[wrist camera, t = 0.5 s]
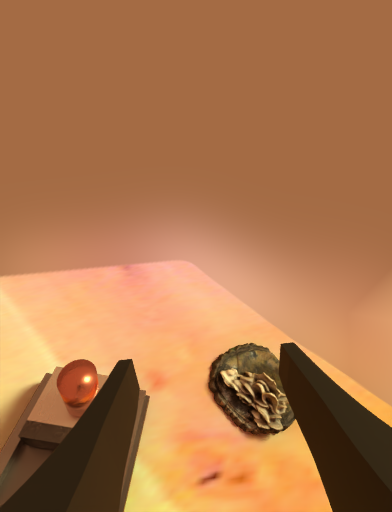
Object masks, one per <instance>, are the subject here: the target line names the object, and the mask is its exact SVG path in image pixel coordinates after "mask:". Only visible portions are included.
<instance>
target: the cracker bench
mask: <svg viewBox="0 0 392 512" xmlns="http://www.w3.org/2000/svg"><path fill="white" fill-rule="evenodd" d="M51 376H52V374H49V373H46V374H45V376H44V378H43V380H42V381H41V383H40V385H39V386H38V388H37V390H36V392H35V393H34V395H33V397H32V399H31V400H30V402H29V404H28V406H27V407H26V409H25V411H24V412H23V414H22V416H21V418H20V419H19V421H18V423H17V425H16V426H15V428H14V430H13V432H12V433H11V435H10V437H9V438H8V440H7V442H6V444H5V445H4V447H3V449H2V451H1V452H0V507H1V506H2V505H3V504H4V503H5V502H6V501H7V500H8V499H9V498H10V497H11V496H12V495H13V494H14V493H15V492H16V491H17V490H18V489H19V488H20V487H21V486H22V485H23V484H24V483H25V482H26V481H27V480H28V479H29V478H30V477H31V475H32V474H33V473H34V472H35V471H36V470H37V469H38V468H39V467H40V466H41V465H42V463H43V462H44V461H45V460H46V459H47V458H48V457H49V456H50V455H51V453H52V452H53V451H54V450H51V449H45V448H39V447H33V446H28V445H26V444H25V443H24V442H23V441H22V440H21V439H20V438H19V437H18V435H19V433H20V431H21V430H22V428H23V426H24V424H25V422H26V421H27V419H28V417H29V415H30V413H31V412H32V410H33V408H34V406H35V404H36V403H37V401H38V399H39V397H40V395H41V394H42V392H43V390H44V388H45V386H46V385H47V383H48V381H49V379H50V377H51ZM149 398H150V396H147V395H146V391H143V390H139V401H138V409H137V415H136V420H135V425H134V430H133V434H132V439H131V444H130V448H129V453H128V458H127V462H126V467H125V472H124V478H123V484H122V491H121V499H120V506H119V512H124V509H125V504H126V500H127V496H128V491H129V487H130V482H131V478H132V474H133V469H134V465H135V460H136V456H137V452H138V447H139V443H140V438H141V434H142V430H143V425H144V421H145V416H146V412H147V408H148V403H149Z"/></svg>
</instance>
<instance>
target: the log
mask: <svg viewBox="0 0 392 512" xmlns="http://www.w3.org/2000/svg"><path fill="white" fill-rule="evenodd" d="M209 388H210V390H211V391H212V392H213V393H214V399H215V401H216V402H217V404H218V405H220V406H221V407H222V408H223V410H224V412H225V413H226V414H227V415H229V416H230V417H231V418H232V420H233V421H234V423H235V424H236V425H237V426H239V427H240V428H242V429H243V430H244V431H245V432H251V433H252V434H259V433H263V434H266V433H271V432H273V433H279V432H280V430H282V431H284V430H286V429H287V428H288V427H289V426H290V425H291V424H292V423H293V421H294V420H295V419H296V418H295V416H294V413H293V411H292V409H291V407H290V404H289V402H288V400H287V398H286V395H285V392H284V389H283V386H282V383H281V380H280V377H279V360H278V359H277V358H276V357H275V356H274V355H273V354H272V353H271V352H270V351H269V349H268V348H264V347H263V346H257V345H256V344H254V343H250V344H248V343H247V344H244V345H238V346H236V347H234V348H231V349H229V350H228V351H227V352H225V353H224V354H221V355H219V358H218V359H216V360H215V361H214V362H213V363H212V371H211V372H210V382H209Z"/></svg>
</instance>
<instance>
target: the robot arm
mask: <svg viewBox="0 0 392 512" xmlns="http://www.w3.org/2000/svg"><path fill="white" fill-rule="evenodd" d="M279 377H280V380H281V383H282V386H283V389H284V392H285V395H286V398H287V400H288V402H289V404H290V407H291V409H292V411H293V413H294V416H295V418H296V420H297V422H298V424H299V427H300V429H301V431H302V433H303V435H304V438H305V440H306V442H307V444H308V446H309V449H310V451H311V453H312V456H313V458H314V461H315V463H316V466H317V469H318V471H319V474H320V477H321V480H322V482H323V485H324V488H325V491H326V494H327V497H328V499H329V502H330V505H331V508H332V511H333V512H392V427H390V426H389V425H387V424H386V423H385V422H383V421H382V420H380V419H379V418H378V417H377V416H375V415H374V414H373V413H371V412H370V411H369V410H367V409H366V408H365V407H364V406H362V405H361V404H360V403H359V402H357V401H356V400H355V399H354V398H352V397H351V396H350V395H349V394H348V393H347V392H345V391H344V390H343V389H342V388H341V387H340V386H338V385H337V384H336V383H335V382H334V381H333V380H332V379H331V378H330V377H329V376H327V375H326V374H325V373H324V372H323V371H322V370H321V369H320V368H319V367H318V366H317V365H316V364H315V363H314V362H313V361H312V360H311V359H310V358H309V357H308V356H307V355H306V354H305V353H304V352H303V351H302V350H301V349H300V348H299V347H298V346H297V345H296V344H295V343H284V344H281V348H280V361H279ZM139 390H140V388H139V384H138V380H137V376H136V373H135V369H134V365H133V361H132V359H127V360H119V361H118V362H117V364H116V365H115V367H114V369H113V370H112V372H111V373H110V375H109V377H108V378H107V380H106V381H105V383H104V384H103V386H102V387H101V389H100V390H99V392H98V393H97V395H96V396H95V398H94V399H93V401H92V402H91V404H90V405H89V406H88V408H87V409H86V411H85V412H84V413H83V415H82V416H81V417H80V419H79V420H78V421H77V423H76V424H75V425H74V427H73V428H72V429H71V430H70V432H69V433H68V434H67V435H66V437H65V438H64V439H63V440H62V442H61V443H60V444H59V445H58V446H57V448H56V449H55V450H54V451H53V452H52V453H51V455H50V456H49V457H48V458H47V459H46V460H45V461H44V462H43V463H42V465H41V466H40V467H39V468H38V469H37V470H36V471H35V472H34V473H33V474H32V475H31V477H30V478H29V479H28V480H27V481H26V482H25V483H24V484H23V485H22V486H21V487H20V488H19V489H18V490H17V491H16V492H15V493H14V494H13V495H12V496H11V497H10V498H9V499H8V500H7V501H6V502H5V503H4V504H3V505H2V506H1V507H0V512H119V506H120V499H121V491H122V484H123V478H124V472H125V467H126V462H127V458H128V453H129V448H130V444H131V439H132V434H133V430H134V425H135V420H136V415H137V409H138V401H139Z"/></svg>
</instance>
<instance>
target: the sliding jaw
mask: <svg viewBox="0 0 392 512" xmlns="http://www.w3.org/2000/svg"><path fill="white" fill-rule="evenodd" d="M108 377H109V376H106V375H100V374H97V371H96V368H95V366H94V364H93V363H92V362H90V361H88V360H84V359H80V360H75V361H73V362H70V363H69V364H67V365H66V366H65V367H64V368H62V367H56V368H55V370H54V372H53V374H52V376H51V377H50V379H49V381H48V383H47V385H46V386H45V388H44V390H43V392H42V394H41V395H40V397H39V399H38V401H37V403H36V404H35V406H34V408H33V410H32V412H31V413H30V415H29V417H28V419H27V421H26V422H25V424H24V426H23V428H22V430H21V431H20V433H19V435H18V437H19V438H20V439H21V440H22V441H23V442H24V443H25V444H26V445H28V446H33V447H39V448H45V449H51V450H55V449H56V448H57V446H58V445H59V444H60V443H61V442H62V440H63V439H64V438H65V437H66V435H67V434H68V433H69V432H70V430H71V429H72V428H73V427H74V425H75V424H76V423H77V421H78V420H79V419H80V417H81V416H82V415H83V413H84V412H85V411H86V409H87V408H88V406H89V405H90V404H91V402H92V401H93V399H94V398H95V396H96V395H97V393H98V392H99V390H100V389H101V387H102V386H103V384H104V383H105V381H106V380H107V378H108Z"/></svg>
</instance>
